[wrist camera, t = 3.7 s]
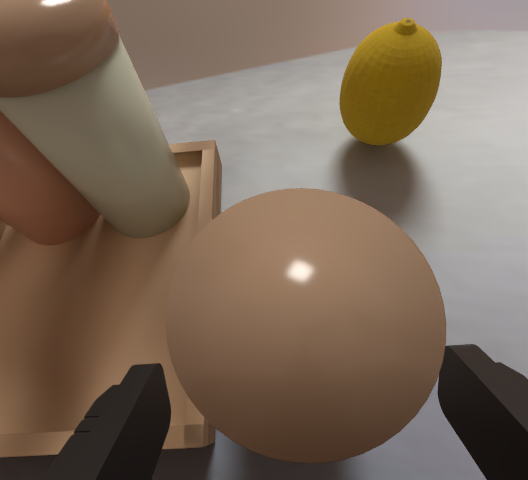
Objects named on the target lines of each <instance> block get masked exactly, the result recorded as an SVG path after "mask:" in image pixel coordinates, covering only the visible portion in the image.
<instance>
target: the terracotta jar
mask: <svg viewBox="0 0 528 480" xmlns="http://www.w3.org/2000/svg"><path fill="white" fill-rule="evenodd" d="M99 215H100V213H99V212H98V211H97V210H96V209H95V208H94V207H93V206H92V205H91V204H90V203H89V202H88V201H87V200H86V199H85V198H84V197H83V195H82V194H81V193H80V192H79V191H78V190H77V189H76V188H75V187H74V186H73V185H72V184H71V183H70V182H69V181H68V180H67V179H66V178H65V177H64V176H63V175H62V174H61V173H60V172H59V171H58V170H57V169H56V168H55V166H54V165H53V164H52V163H51V162H50V161H49V160H48V159H47V158H46V157H45V156H44V155H43V154H42V153H41V152H40V151H39V150H38V149H37V148H36V147H35V146H34V145H33V144H32V143H31V142H30V141H29V140H28V139H27V138H26V136H25V135H24V134H23V133H22V132H21V131H20V130H19V129H18V128H17V127H16V126H15V125H14V124H13V123H12V122H11V121H10V120H9V119H8V118H7V117H6V116H5V115H4V114H3V113H2V112H1V111H0V220H1V221H2V222H4V223H5V224H7V225H8V226H10V227H11V228H13V229H14V230H16V231H17V232H19V233H21V234H22V235H24V236H25V237H27V238H28V239H30V240H31V241H33V242H35V243H37V244H41V245H57V244H61V243H65V242H68V241H70V240H72V239H75V238H76V237H78V236H80V235H81V234H83V233H84V232H85V231H87V230H88V229H89V228H90V227H91V226H92V225H93V224H94V223H95V221H96V220H97V219H98V217H99Z"/></svg>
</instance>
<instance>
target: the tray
mask: <svg viewBox="0 0 528 480" xmlns="http://www.w3.org/2000/svg"><path fill="white" fill-rule="evenodd" d="M169 146H170V148H171V150H172V152H173V154H174V157H175V159H176V161H177V163H178V165H179V168H180V170H181V172H182V174H183V176H184V179H185V181H186V183H187V185H188V188H189V191H190V201H189V205H188V208H187V210H186V212H185V214H184V215H183V217H182V218H181V219H180V220H179V221H178V222H177V223H176V224H175V225H174V226H173V227H171V228H170V229H168V230H167V231H165V232H163V233H161V234H158V235H155V236H152V237H147V238H132V237H128V236H125V235H123V234H121V233H119V232H118V231H117V230H115V229H114V228H113V227H112V225H111V224H110V223H109V222H108V221H107V220H106V219H105V218H104V217H103V216H102V215H101V214H100V215H99V217H98V219H97V220H96V221H95V223H94V224H93V225H92V226H91V227H90V228H89V229H88V230H87V231H85V232H84V233H83V234H81V235H80V236H78V237H76V238H75V239H72V240H70V241H68V242H65V243H61V244H57V245H41V244H37V243H35V242H33V241H31V240H30V239H28V238H27V237H25V236H24V235H22V234H21V233H19V232H17V231H16V230H14V229H13V228H11V227H10V226H8V225H7V224H5V223H4V222H2V221H1V220H0V457H16V456H36V455H56V454H59V452H60V451H61V449H62V448H63V446H64V445H65V443H66V442H67V441H68V439H69V438H70V436H71V435H73V434H74V430H75V429H76V427H77V426H78V425H79V423H80V422H81V420H84V416H85V414H86V413H87V412H88V410H89V409H90V407H91V406H92V404H93V403H94V401H95V400H96V399H97V398H98V397H99V396H100V395H102V394H103V393H104V392H105V391H106V390H107V389H109V388H110V387H111V386H112V385H119V384H120V383H121V381H122V380H123V378H124V377H125V375H126V374H127V372H128V370H129V369H130V367H131V366H132V365H136V364H152V363H160V364H161V365H162V367H163V370H164V375H165V380H166V385H167V390H168V394H169V399H170V404H171V422H170V427H169V430H168V433H167V436H166V439H165V442H164V445H163V447H162V449H177V448H198V447H205V446H207V445H209V444H212V443H214V442H215V427H214V426H213V425H212V424H211V423H210V422H209V421H208V420H207V419H206V418H205V417H204V416H203V415H202V414H201V413H200V412H199V411H198V409H197V408H196V407H195V405H194V404H193V403H192V401H191V400H190V399H189V397H188V396H187V394H186V393H185V391H184V389H183V387H182V385H181V383H180V382H179V380H178V378H177V375H176V372H175V370H174V367H173V364H172V362H171V358H170V354H169V350H168V345H167V339H166V328H165V315H166V303H167V297H168V291H169V287H170V284H171V281H172V278H173V274H174V272H175V270H176V268H177V265H178V263H179V261H180V259H181V257H182V256H183V254H184V252H185V251H186V249H187V247H188V246H189V245H190V243H191V242H192V241H193V239H194V238H195V237H196V236H197V234H198V233H199V232H200V231H201V230H202V229H203V228H204V227H205V226H206V225H207V224H208V223H209V222H211V221H212V220H213V219H214V218H215V217H217V216H218V215H219V214H220V213H221V171H222V164H221V160H220V156H219V153H218V149H217V146H216V142H215V140H211V141H200V142H189V143H178V144H169Z"/></svg>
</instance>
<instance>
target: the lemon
mask: <svg viewBox="0 0 528 480" xmlns="http://www.w3.org/2000/svg"><path fill="white" fill-rule="evenodd" d="M441 65H442V58H441V53H440V49H439V47H438V44H437V42H436V40H435V39H434V38H433V36H432V35H431V34H430V33H429V32H428V31H427V30H426V29H425V28H423V27H422V26H420V25H417V24H415V22H414V20H412V19H409V18H405V19H402V20H401V21H399V22H395V23H390V24H387V25H385V26H382V27H380V28H379V29H377V30H375V31H373V32H372V33H371V34H370V35H368V36H367V37H366V38H365V39H364V40H363V41H362V42H361V43H360V44H359V46H358V47H357V49H356V50H355V52H354V54H353V56H352V57H351V59H350V61H349V63H348V66H347V68H346V71H345V73H344V77H343V80H342V85H341V93H340V111H341V115H342V119H343V122H344V124H345V126H346V128H347V129H348V131H349V132H350V133H351V134H352V135H353V136H354V137H355V138H356V139H358V140H360V141H362V142H364V143H367V144H370V145H388V144H392V143H395V142H397V141H399V140H401V139H403V138H405V137H407V136H408V135H409V134H410V133H411V132H413V131H414V130H415V129H416V128H417V127H418V126H419V125H420V124H421V123H422V121H423V120H424V118H425V117H426V115H427V113H428V112H429V110H430V108H431V106H432V104H433V102H434V100H435V97H436V94H437V91H438V87H439V82H440V76H441Z"/></svg>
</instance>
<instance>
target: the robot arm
mask: <svg viewBox="0 0 528 480" xmlns="http://www.w3.org/2000/svg"><path fill="white" fill-rule="evenodd" d="M438 398H439V403H440V406H441V409H442V411H443V413H444V415H445V417H446V418H447V420H448V421H449V423H450V424H451V426H452V428H453V429H454V431H455V432H456V434H457V435H458V437H459V438H460V440H461V441H462V443H463V444H464V446H465V447H466V449H467V450H468V452H469V453H470V455H471V456H472V458H473V459H474V461H475V462H476V464H477V465H478V467H479V468H480V470H481V472H482V473H483V475H484V476H485V478H486V479H487V480H528V379H527V378H526V377H525V376H523V375H522V374H520V373H518V372H516V371H515V370H513V369H511V368H509V367H508V366H506V365H504V364H502V363H500V362H497V363H495V362H494V361H493V360H492V359H491V358H490V357H489V356H488V355H487V354H485V353H484V352H483V351H482V350H481V349H480V348H479V347H478V346H476V345H474V344H467V345H451V346H445V351H444V357H443V363H442V366H441V369H440V372H439V382H438ZM170 422H171V404H170V399H169V394H168V390H167V385H166V380H165V375H164V370H163V367H162V365H161V364H160V363H152V364H136V365H132V366H131V367H130V369H129V370H128V372H127V374H126V375H125V377H124V378H123V380H122V381H121V383H120V384H119V385H112V386H111V387H110V388H109V389H107V390H106V391H105V392H104V393H103V394H102V395H100V396H99V397H98V398H97V399H96V400H95V401H94V403H93V404H92V406H91V407H90V409H89V410H88V412H87V413H86V414H85V416H84V420H81V422H80V423H79V425H78V426H77V427H76V429H75V430H74V434H73V435H71V436H70V438H69V439H68V441H67V442H66V443H65V445H64V446H63V448H62V449H61V451H60V452H59V454H58V455H57V456H56V458H55V459H54V461H53V462H52V464H51V465H50V467H49V468H48V469H47V471H46V472H45V474H44V475H43V477H42V478H41V480H151V478H152V476H153V473H154V470H155V467H156V464H157V462H158V459H159V456H160V453H161V450H162V447H163V445H164V442H165V439H166V436H167V433H168V430H169V427H170Z"/></svg>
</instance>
